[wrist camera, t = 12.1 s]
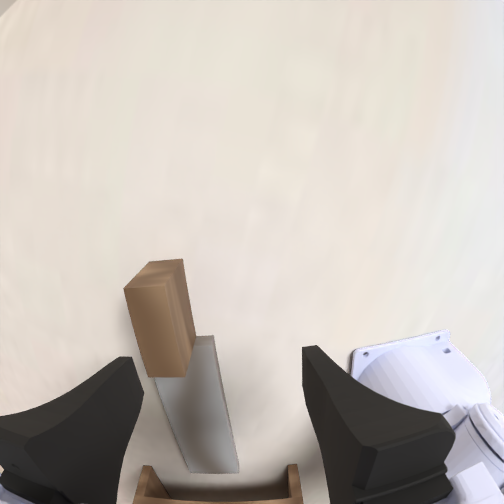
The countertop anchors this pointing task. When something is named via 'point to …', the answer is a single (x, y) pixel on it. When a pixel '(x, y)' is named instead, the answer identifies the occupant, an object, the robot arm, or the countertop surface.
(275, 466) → the countertop surface
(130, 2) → the countertop surface
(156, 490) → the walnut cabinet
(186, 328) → the putty knife
